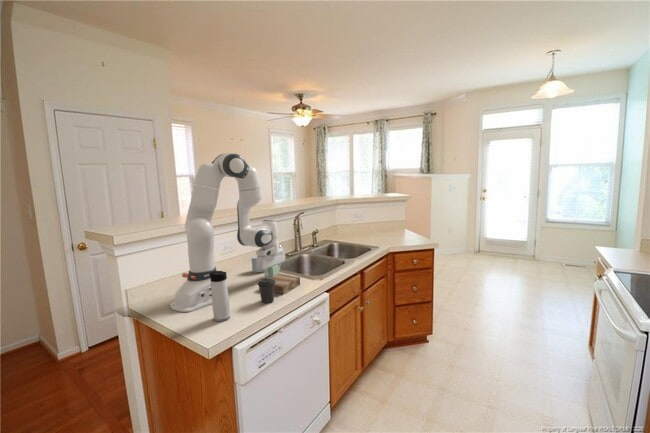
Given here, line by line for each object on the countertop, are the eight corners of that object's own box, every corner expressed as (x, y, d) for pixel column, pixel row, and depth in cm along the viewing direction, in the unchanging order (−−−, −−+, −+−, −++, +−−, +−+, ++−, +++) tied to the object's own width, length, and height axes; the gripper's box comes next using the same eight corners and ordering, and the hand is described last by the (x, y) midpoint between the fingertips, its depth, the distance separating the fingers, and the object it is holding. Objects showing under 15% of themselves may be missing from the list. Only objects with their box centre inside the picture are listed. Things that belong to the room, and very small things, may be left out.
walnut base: (283, 294, 143) (283, 286, 142) (261, 289, 150) (260, 282, 149) (300, 284, 155) (299, 277, 154) (278, 280, 162) (278, 273, 161)
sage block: (273, 279, 163) (272, 267, 162) (266, 278, 166) (265, 266, 165) (279, 277, 167) (278, 264, 166) (272, 275, 170) (271, 263, 169)
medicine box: (267, 270, 180) (266, 256, 178) (265, 272, 175) (264, 258, 174) (254, 270, 180) (253, 256, 179) (252, 272, 176) (251, 258, 175)
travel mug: (210, 320, 120) (205, 272, 117) (223, 313, 126) (219, 267, 123) (219, 324, 117) (215, 275, 114) (233, 317, 122) (229, 270, 119)
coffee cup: (268, 306, 131) (266, 284, 129) (254, 302, 135) (253, 281, 133) (280, 299, 137) (279, 278, 136) (267, 296, 142) (265, 276, 140)
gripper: (278, 244, 174) (279, 266, 177) (253, 252, 157) (255, 278, 159) (287, 245, 171) (288, 268, 173) (262, 254, 154) (264, 279, 156)
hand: (272, 273), depth 166 cm, fingers open, 8 cm apart
